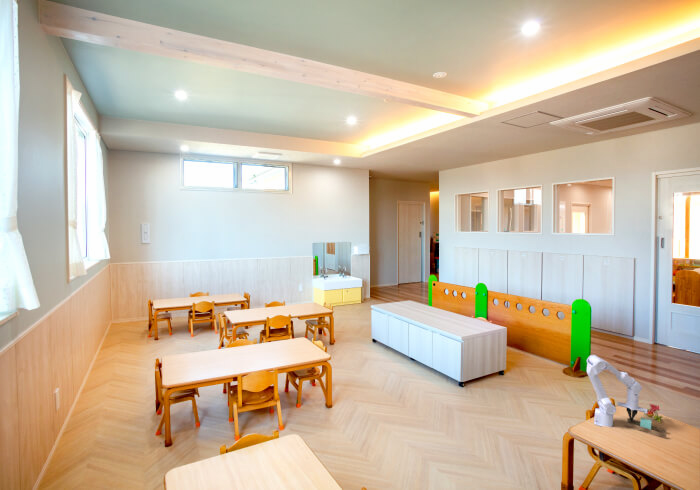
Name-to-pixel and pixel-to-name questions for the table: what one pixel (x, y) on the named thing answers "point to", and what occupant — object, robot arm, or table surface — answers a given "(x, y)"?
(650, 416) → the bird rattle
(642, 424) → the block
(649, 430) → the chute
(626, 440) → the table surface
